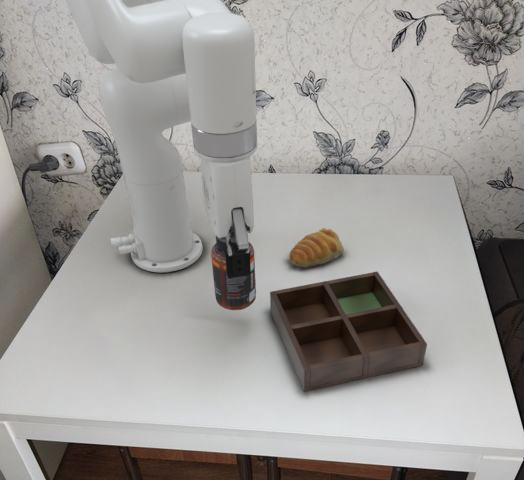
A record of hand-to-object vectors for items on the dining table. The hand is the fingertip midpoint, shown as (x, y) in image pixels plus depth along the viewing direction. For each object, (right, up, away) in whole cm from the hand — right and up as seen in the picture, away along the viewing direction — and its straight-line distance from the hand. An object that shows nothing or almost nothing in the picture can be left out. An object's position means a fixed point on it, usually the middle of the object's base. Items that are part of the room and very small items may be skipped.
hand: (233, 260), depth 81 cm
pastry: (+14, +4, +21) cm, 26 cm away
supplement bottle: (0, -5, +5) cm, 7 cm away
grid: (+16, -11, +6) cm, 20 cm away
